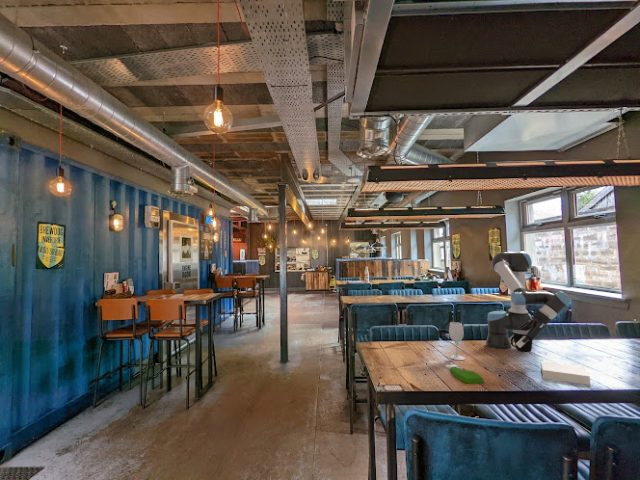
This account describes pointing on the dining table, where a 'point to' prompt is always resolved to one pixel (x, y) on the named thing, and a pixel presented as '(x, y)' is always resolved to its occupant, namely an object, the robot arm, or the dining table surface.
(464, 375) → the spray bottle
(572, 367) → the flat plate
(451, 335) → the wineglass
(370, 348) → the dining table surface
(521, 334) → the mug
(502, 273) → the robot arm
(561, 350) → the dining table surface
